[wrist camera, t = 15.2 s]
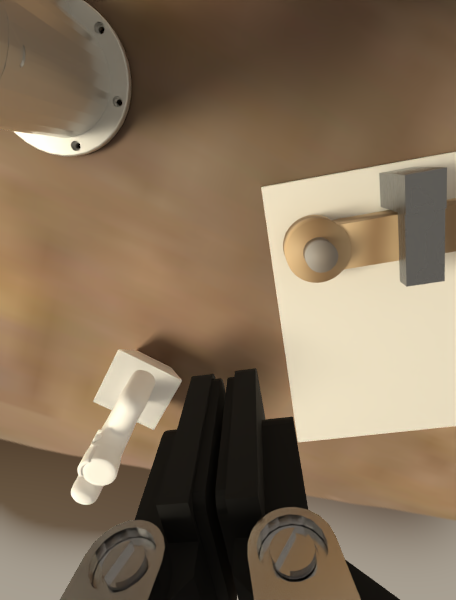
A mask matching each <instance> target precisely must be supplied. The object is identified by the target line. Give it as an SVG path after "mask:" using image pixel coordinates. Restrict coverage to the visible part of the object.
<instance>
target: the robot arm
mask: <svg viewBox="0 0 456 600" xmlns="http://www.w3.org/2000/svg"><path fill="white" fill-rule="evenodd" d="M103 28H104V29H105V30H104V32H103V33H102V34H101V29H103ZM130 99H131V74H130V67H129V63H128V59H127V56H126V53H125V50H124V48H123V46H122V44H121V42H120V40H119V38H118V36H117V34H116V33H115V31H114V30H113V29H112V27H111V26H110V24H109V23H108V22H107V21H106V20H105V19H104V18H103V17H102V15H101V14H100V13H99V12H98V11H96V10H95V9H94V8H93V7H91V6H90V5H89V4H88V3H86V2H85V1H83V0H0V129H1V130H8V131H13V132H14V133H15V134H17V135H18V136H19V137H20V138H21V139H22V140H24V141H25V142H26V143H28V144H29V145H31V146H33V147H35V148H36V149H38V150H41V151H43V152H46V153H49V154H53V155H59V156H80V155H86V154H89V153H91V152H94V151H97V150H98V149H100V148H101V147H103V146H104V145H106V144H107V143H108V142H109V141H110V140H111V139H112V138H113V137H114V136H115V135H116V134H117V132H118V131H119V129H120V128H121V126H122V124H123V123H124V120H125V118H126V115H127V113H128V110H129V105H130ZM120 100H122V105H121V106H119V105H118V102H119V101H120ZM79 143H80V146H81V148H80V149H79V148H78V144H79ZM237 595H238V599H239V600H400V599H398V598H397V597H395V596H394V595H393V594H392V593H390V592H389V591H387V590H386V589H385V588H383V587H382V586H381V585H379V584H378V583H376V582H375V581H374V580H372V579H371V578H370V577H368V576H367V575H365V574H364V573H363V572H361V571H360V570H359V569H357V568H356V567H354V566H353V565H352V564H350V563H349V562H348V561H346V560H345V558H344V556H343V554H342V551H341V548H340V546H339V543H338V541H337V538H336V536H335V534H334V532H333V531H332V529H331V527H330V526H329V524H328V523H327V522H326V521H325V520H324V519H322V518H321V517H320V516H319V515H317V514H315V513H313V512H311V511H309V510H308V506H307V500H306V494H305V488H304V481H303V475H302V469H301V463H300V457H299V451H298V445H297V439H296V433H295V427H294V421H293V417H285V418H276V419H267V420H265V414H264V409H263V403H262V397H261V391H260V386H259V380H258V374H257V370H256V369H248V370H240V371H235V377H229V378H228V379H227V387H226V392H225V388H224V383H223V380H222V378H221V379H215V376H214V374H209V375H201V376H193V377H192V378H191V382H190V385H189V389H188V393H187V396H186V400H185V403H184V407H183V410H182V414H181V418H180V421H179V425H178V428H177V430H169V431H165V432H164V434H163V436H162V438H161V441H160V444H159V447H158V450H157V453H156V457H155V460H154V463H153V466H152V469H151V472H150V475H149V478H148V481H147V484H146V487H145V490H144V493H143V496H142V499H141V502H140V505H139V508H138V512H137V515H136V518H135V520H133V521H127V522H124V523H121V524H119V525H116V526H115V527H113V528H111V529H110V530H108V531H106V532H105V533H104V534H103V535H102V536H101V537H99V538H98V539H97V540H96V541H95V542H94V543H93V545H92V546H91V548H90V549H89V550H88V552H87V553H86V554H85V556H84V558H83V560H82V562H81V563H80V565H79V567H78V569H77V570H76V572H75V574H74V576H73V577H72V579H71V581H70V583H69V585H68V586H67V588H66V590H65V592H64V594H63V595H62V597H61V599H60V600H237Z"/></svg>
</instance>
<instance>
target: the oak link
mask: <svg viewBox="0 0 456 600" xmlns="http://www.w3.org/2000/svg"><path fill="white" fill-rule="evenodd" d="M283 251H284V255H285V258H286V260H287V263H288V266H289V268H290V269H291V271H292V272H293V273H294V274H295V275H296V276H297V277H299V278H300V279H302V280H304V281H307V282H312V283H320V282H326V281H328V280H331V279H333V278H335V277H336V276H337V275H339V274H340V273H341V272H342V271H343V270H344V269H350V268H356V267H362V266H368V265H375V264H381V263H387V262H393V261H399V238H398V213H397V212H394V211H391V210H385V211H380V212H374V213H369V214H363V215H357V216H352V217H346V218H340V219H335V220H330V219H329V218H327V217H325V216H321V215H308V216H305V217H302V218H300V219H298V220H297V221H295V222H294V223H293V224H292V225H291V226H290V227H289V229H288V230H287V232H286V234H285V237H284V240H283ZM455 251H456V198H453V199H447V209H445V253H449V252H455Z"/></svg>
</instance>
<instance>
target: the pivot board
mask: <svg viewBox="0 0 456 600" xmlns="http://www.w3.org/2000/svg"><path fill="white" fill-rule="evenodd" d="M410 167H447V199H453V198H456V151H455V152H450V153H444V154H439V155H433V156H428V157H422V158H417V159H411V160H406V161H400V162H395V163H389V164H384V165H378V166H373V167H367V168H362V169H356V170H351V171H345V172H340V173H334V174H329V175H323V176H318V177H312V178H307V179H301V180H296V181H290V182H285V183H279V184H274V185H268V186H263V187H261V189H262V196H263V203H264V210H265V217H266V224H267V231H268V238H269V245H270V252H271V258H272V265H273V272H274V279H275V286H276V293H277V300H278V307H279V314H280V321H281V328H282V335H283V342H284V349H285V356H286V363H287V369H288V376H289V383H290V390H291V397H292V404H293V411H294V418H295V425H296V432H297V439H298V442H306V441H315V440H325V439H334V438H344V437H354V436H363V435H373V434H383V433H392V432H402V431H412V430H421V429H431V428H440V427H450V426H456V251H455V252H449V253H445V281H442V282H435V283H428V284H421V285H415V286H408V287H406V286H405V285H404V284H403V283H401V282H400V270H399V261H393V262H387V263H381V264H375V265H368V266H362V267H356V268H350V269H344V270H343V271H342V272H341V273H340V274H339V275H337V276H336V277H335V278H333V279H331V280H328V281H326V282H320V283H312V282H307V281H304V280H302V279H300V278H299V277H297V276H296V275H295V274H294V273H293V272H292V271H291V269H290V268H289V266H288V263H287V260H286V258H285V255H284V251H283V240H284V237H285V234H286V232H287V230H288V229H289V227H290V226H291V225H292V224H293V223H294V222H295V221H297V220H298V219H300V218H302V217H305V216H308V215H321V216H325V217H327V218H329V219H330V220H335V219H340V218H346V217H352V216H357V215H363V214H369V213H374V212H380V211H385V210H388V209H385V208H382V207H381V203H380V181H379V173H382V172H388V171H394V170H399V169H405V168H410Z"/></svg>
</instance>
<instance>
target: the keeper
mask: <svg viewBox="0 0 456 600" xmlns="http://www.w3.org/2000/svg"><path fill="white" fill-rule="evenodd" d="M379 181H380V203H381V207H382V208H385V209H388V210H391V211H394V212H397V213H398V238H399V270H400V282H401V283H403V284H404V285H405V286H406V287H408V286H415V285H421V284H428V283H435V282H442V281H445V209H447V167H410V168H405V169H399V170H394V171H388V172H382V173H379Z"/></svg>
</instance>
